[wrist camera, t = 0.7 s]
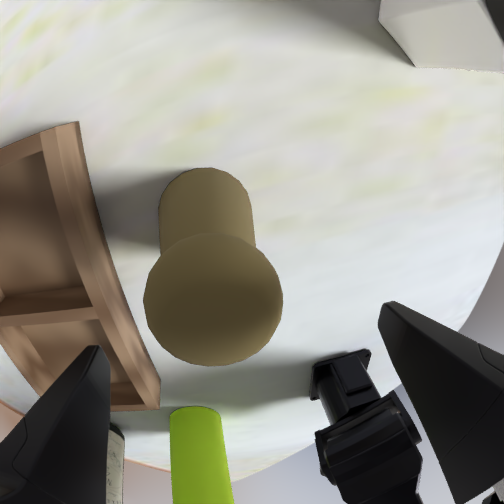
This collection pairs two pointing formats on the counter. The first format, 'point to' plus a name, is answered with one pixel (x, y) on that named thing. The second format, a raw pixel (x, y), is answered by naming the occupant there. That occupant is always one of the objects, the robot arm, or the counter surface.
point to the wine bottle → (115, 466)
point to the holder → (63, 272)
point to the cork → (210, 273)
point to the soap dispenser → (198, 458)
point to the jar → (448, 32)
